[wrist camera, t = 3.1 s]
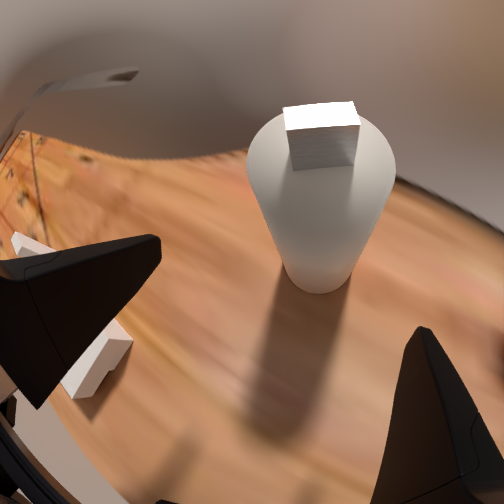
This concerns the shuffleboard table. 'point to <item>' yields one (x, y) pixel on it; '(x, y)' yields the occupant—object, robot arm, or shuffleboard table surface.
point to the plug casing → (320, 189)
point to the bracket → (98, 353)
